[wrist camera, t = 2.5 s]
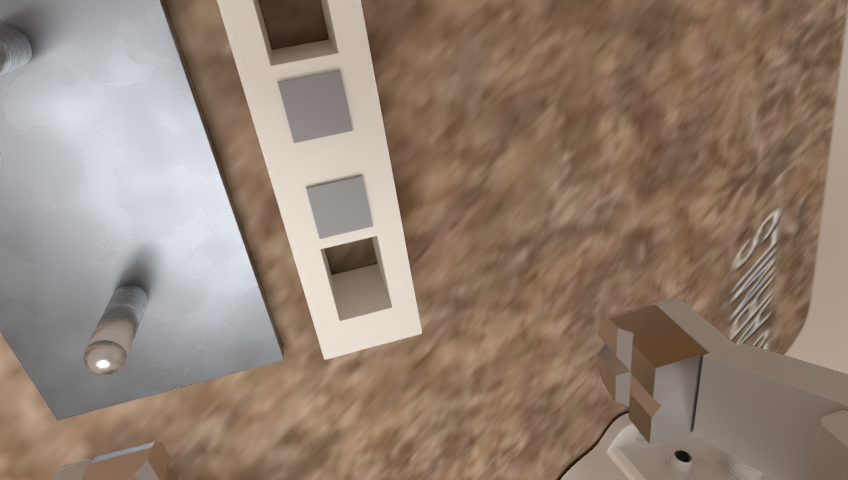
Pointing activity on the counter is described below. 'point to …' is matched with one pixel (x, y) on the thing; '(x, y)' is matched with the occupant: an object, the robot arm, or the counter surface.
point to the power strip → (329, 170)
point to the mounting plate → (116, 212)
